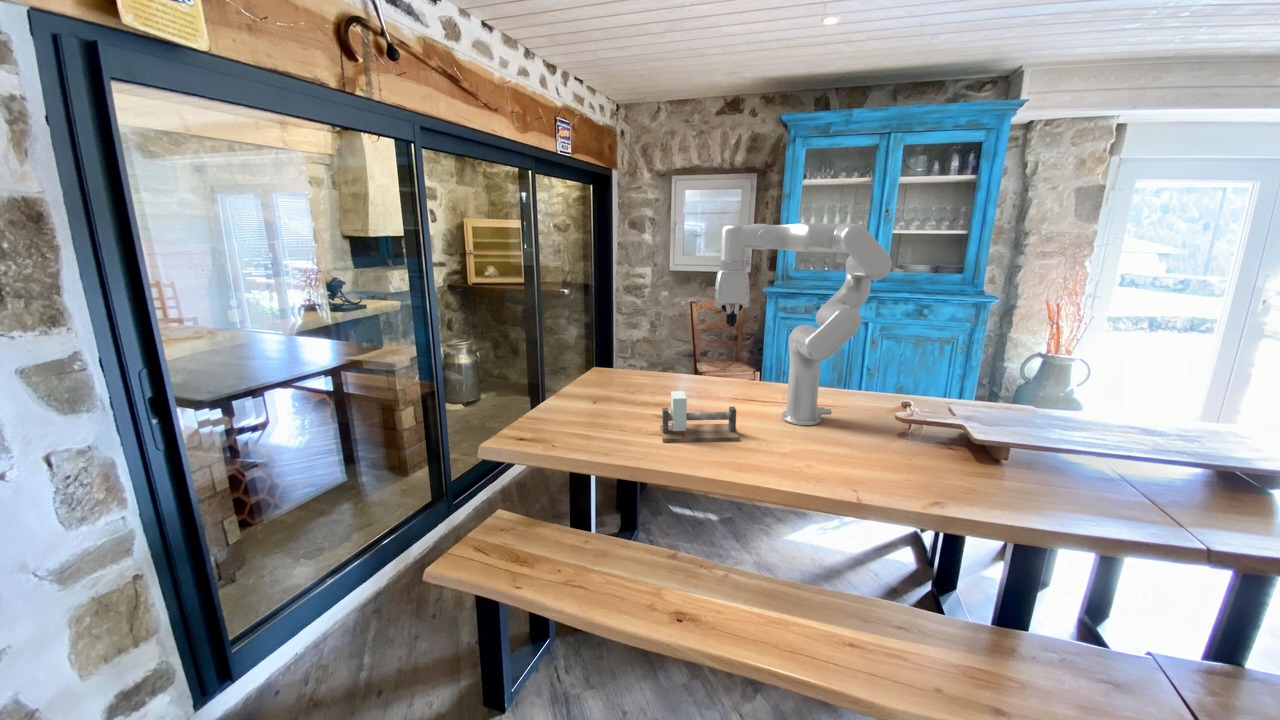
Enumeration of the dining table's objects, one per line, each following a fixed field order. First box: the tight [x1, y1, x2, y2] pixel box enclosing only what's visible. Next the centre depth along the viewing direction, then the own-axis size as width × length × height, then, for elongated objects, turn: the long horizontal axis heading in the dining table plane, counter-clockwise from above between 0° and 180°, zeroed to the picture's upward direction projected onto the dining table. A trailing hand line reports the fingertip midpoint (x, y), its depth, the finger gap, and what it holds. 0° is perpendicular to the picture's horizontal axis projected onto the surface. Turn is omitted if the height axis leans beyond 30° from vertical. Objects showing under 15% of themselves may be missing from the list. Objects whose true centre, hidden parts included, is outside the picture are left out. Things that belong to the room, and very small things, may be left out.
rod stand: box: [659, 406, 741, 443], centre depth 154 cm, size 23×11×8 cm, turn 92°
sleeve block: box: [670, 390, 688, 431], centre depth 152 cm, size 4×7×10 cm, turn 2°
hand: (731, 325), depth 157 cm, fingers closed
